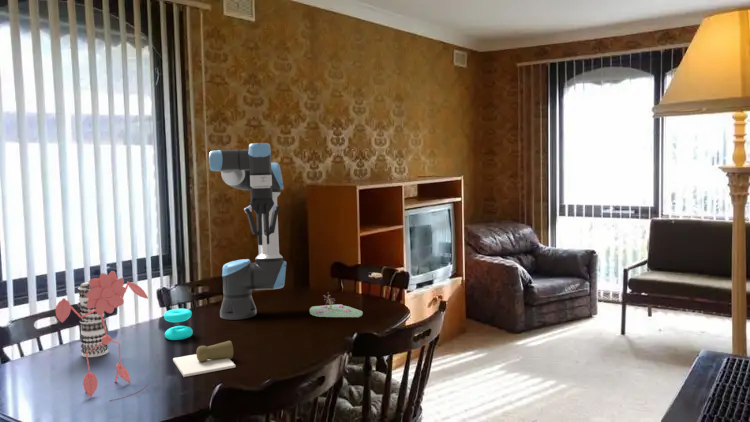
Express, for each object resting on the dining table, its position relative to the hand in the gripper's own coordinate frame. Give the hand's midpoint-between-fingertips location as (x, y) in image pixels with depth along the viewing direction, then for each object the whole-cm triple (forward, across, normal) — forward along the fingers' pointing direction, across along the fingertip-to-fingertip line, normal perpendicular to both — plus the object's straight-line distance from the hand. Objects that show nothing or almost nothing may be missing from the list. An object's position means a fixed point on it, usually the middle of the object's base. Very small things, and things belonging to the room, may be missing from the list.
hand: (264, 253), depth 217 cm
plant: (+33, +40, +27) cm, 59 cm away
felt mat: (+32, -25, -10) cm, 42 cm away
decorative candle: (+33, -55, +22) cm, 68 cm away
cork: (+29, -16, -9) cm, 35 cm away
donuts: (+33, -26, +26) cm, 49 cm away
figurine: (+33, -53, -20) cm, 65 cm away
